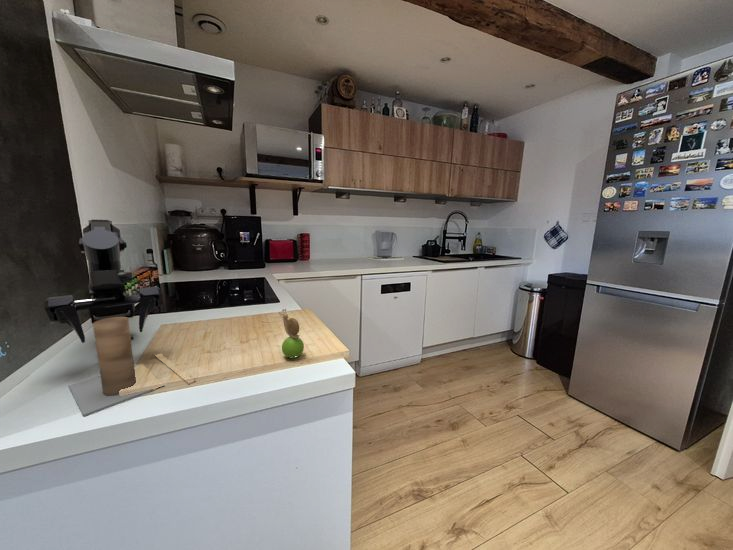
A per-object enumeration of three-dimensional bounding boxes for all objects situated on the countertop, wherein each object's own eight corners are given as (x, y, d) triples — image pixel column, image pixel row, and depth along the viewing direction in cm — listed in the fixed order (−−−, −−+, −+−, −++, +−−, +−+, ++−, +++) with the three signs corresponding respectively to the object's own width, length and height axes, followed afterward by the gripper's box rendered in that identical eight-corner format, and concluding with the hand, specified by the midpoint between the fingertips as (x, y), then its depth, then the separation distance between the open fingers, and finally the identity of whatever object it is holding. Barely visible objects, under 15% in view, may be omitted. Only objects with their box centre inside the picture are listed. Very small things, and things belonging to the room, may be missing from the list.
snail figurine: (293, 349, 76) (292, 306, 74) (308, 356, 72) (308, 311, 70) (275, 355, 72) (274, 311, 70) (290, 364, 68) (289, 316, 66)
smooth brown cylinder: (111, 383, 58) (102, 317, 55) (140, 380, 59) (133, 316, 57) (96, 397, 53) (86, 326, 50) (129, 393, 54) (120, 324, 52)
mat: (68, 387, 56) (68, 385, 56) (142, 364, 66) (142, 363, 66) (83, 416, 48) (83, 414, 48) (165, 386, 58) (164, 384, 58)
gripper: (37, 257, 55) (37, 328, 49) (156, 253, 67) (168, 309, 61) (50, 289, 62) (51, 354, 56) (155, 280, 74) (166, 332, 68)
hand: (113, 336), depth 60 cm, fingers open, 9 cm apart
